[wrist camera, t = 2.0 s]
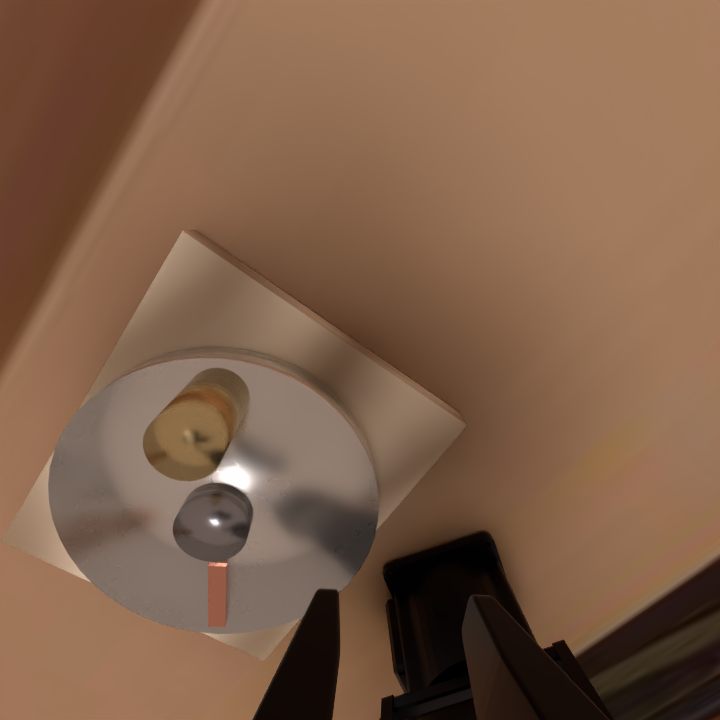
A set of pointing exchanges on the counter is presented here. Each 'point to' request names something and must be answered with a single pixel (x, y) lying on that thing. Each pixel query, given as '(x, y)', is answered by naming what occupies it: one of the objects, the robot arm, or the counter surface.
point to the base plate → (272, 337)
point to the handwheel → (215, 490)
